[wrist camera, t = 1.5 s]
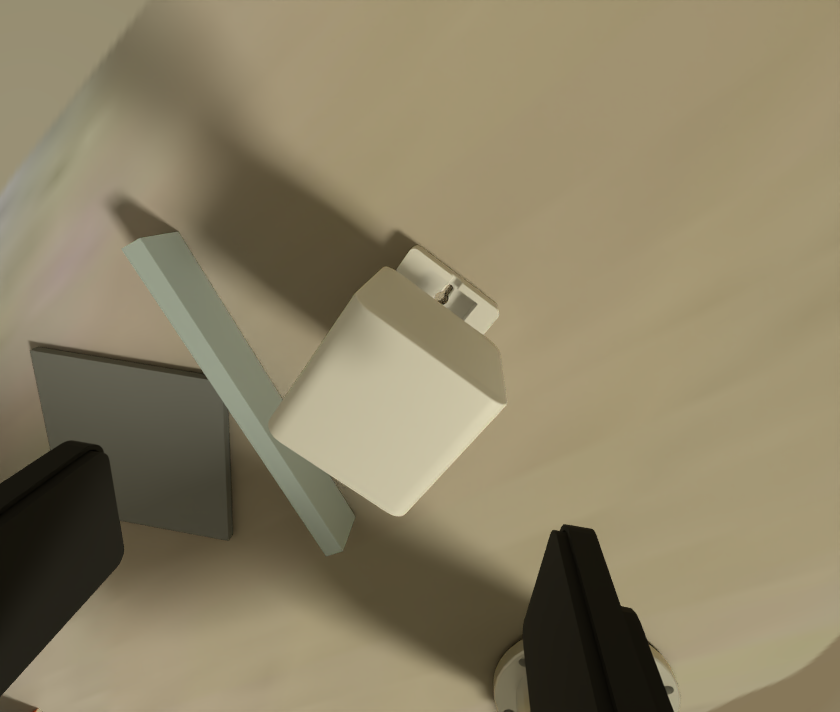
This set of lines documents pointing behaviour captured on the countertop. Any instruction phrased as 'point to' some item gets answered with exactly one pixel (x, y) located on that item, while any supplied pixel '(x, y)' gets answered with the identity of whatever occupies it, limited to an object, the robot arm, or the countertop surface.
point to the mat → (145, 436)
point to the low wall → (237, 380)
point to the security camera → (397, 384)
